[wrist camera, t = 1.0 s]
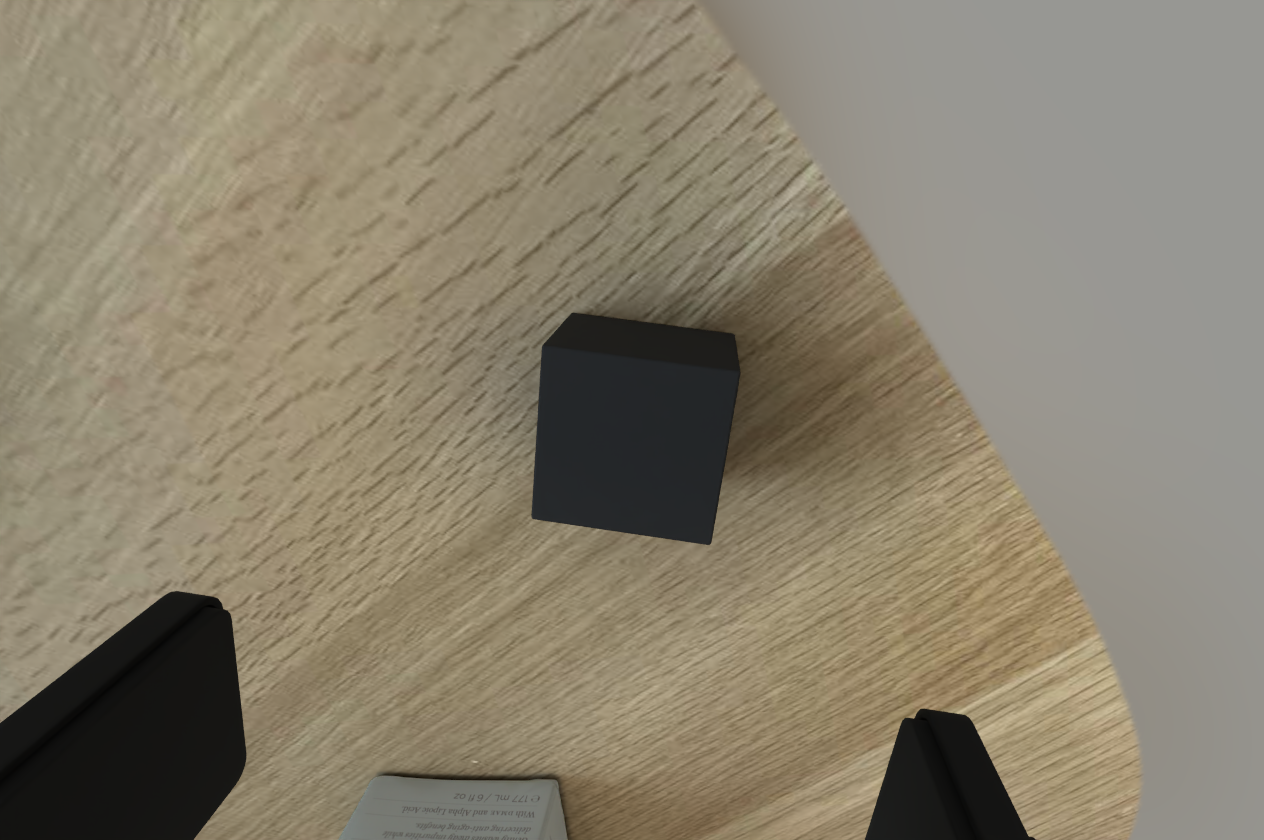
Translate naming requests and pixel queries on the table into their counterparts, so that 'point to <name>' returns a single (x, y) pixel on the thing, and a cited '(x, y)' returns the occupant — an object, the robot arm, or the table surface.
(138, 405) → the table surface
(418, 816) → the cosmetic box
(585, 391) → the black cube
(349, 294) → the table surface
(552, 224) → the table surface
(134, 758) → the robot arm
